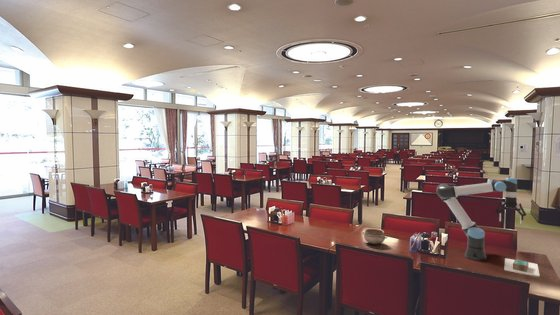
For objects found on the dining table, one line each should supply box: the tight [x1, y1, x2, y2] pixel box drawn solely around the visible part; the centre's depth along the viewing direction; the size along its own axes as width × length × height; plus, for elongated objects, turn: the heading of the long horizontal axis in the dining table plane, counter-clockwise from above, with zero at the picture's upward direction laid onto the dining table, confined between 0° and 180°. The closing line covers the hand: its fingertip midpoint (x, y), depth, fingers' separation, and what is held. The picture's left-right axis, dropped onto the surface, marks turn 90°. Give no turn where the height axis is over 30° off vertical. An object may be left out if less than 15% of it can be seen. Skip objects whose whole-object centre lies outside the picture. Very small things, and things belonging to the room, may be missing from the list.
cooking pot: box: [361, 228, 388, 246], centre depth 287 cm, size 25×19×12 cm
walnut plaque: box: [513, 258, 530, 272], centre depth 228 cm, size 8×4×12 cm
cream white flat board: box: [503, 258, 541, 278], centre depth 232 cm, size 28×20×1 cm
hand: (510, 222), depth 252 cm, fingers open, 13 cm apart
